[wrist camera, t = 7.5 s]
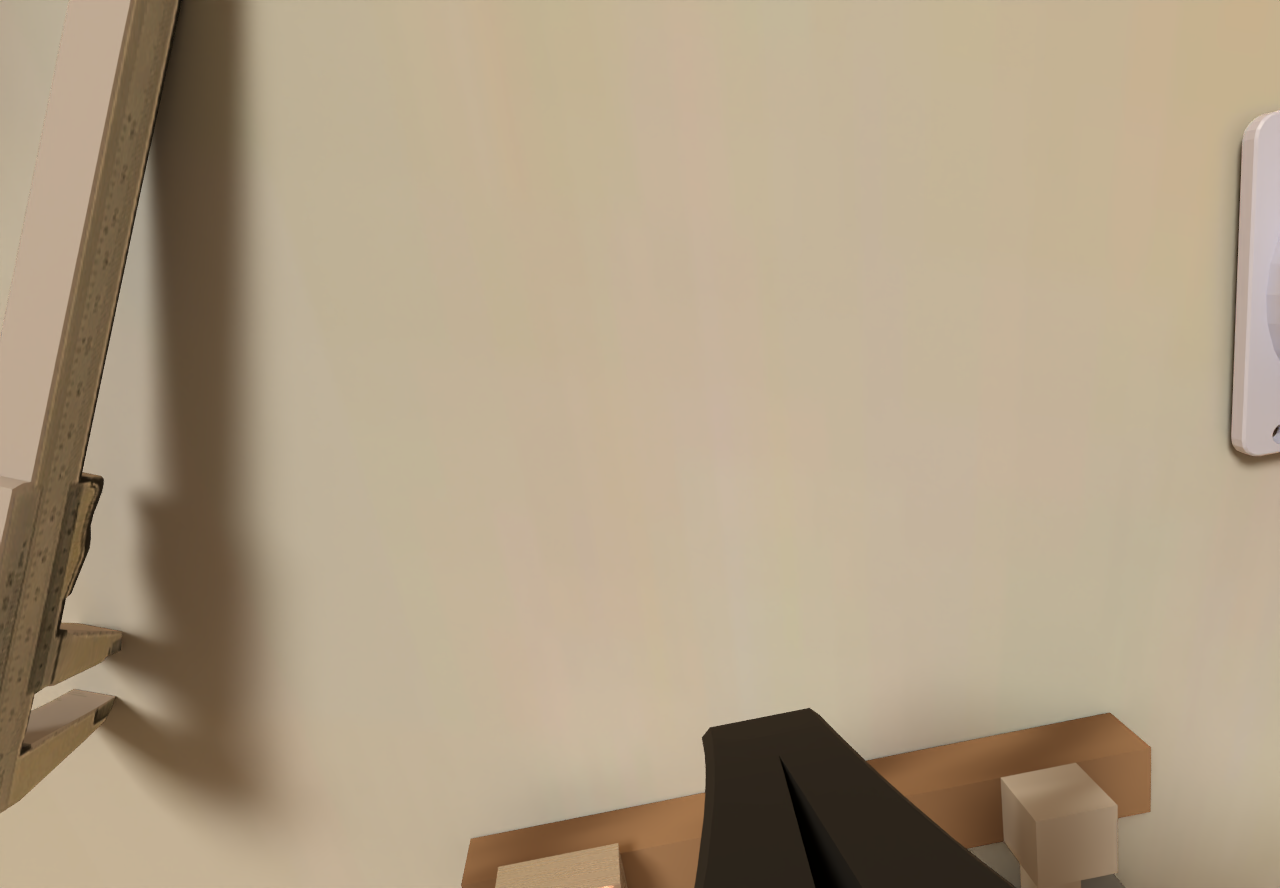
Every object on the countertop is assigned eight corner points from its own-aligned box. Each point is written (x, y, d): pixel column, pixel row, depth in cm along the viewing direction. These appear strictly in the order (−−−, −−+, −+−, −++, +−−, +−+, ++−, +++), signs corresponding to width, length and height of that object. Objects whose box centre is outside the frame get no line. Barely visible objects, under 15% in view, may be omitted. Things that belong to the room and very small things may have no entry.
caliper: (123, 707, 18) (-109, 928, 12) (77, 700, 18) (-182, 918, 12) (218, -211, 14) (-73, -585, 8) (158, -230, 14) (-186, -628, 8)
